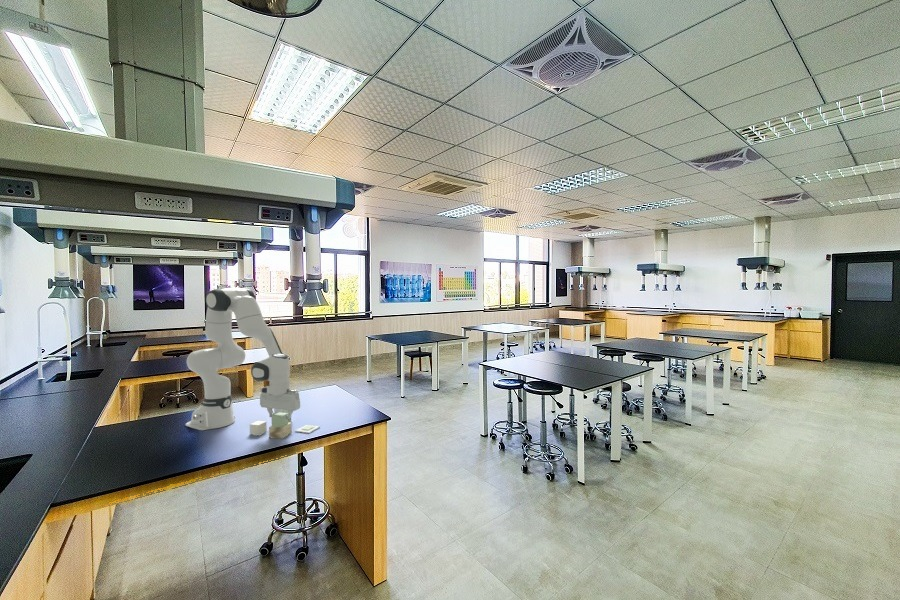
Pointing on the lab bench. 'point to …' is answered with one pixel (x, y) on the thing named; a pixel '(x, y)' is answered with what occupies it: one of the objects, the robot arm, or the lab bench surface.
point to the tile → (307, 429)
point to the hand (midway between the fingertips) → (280, 417)
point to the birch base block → (280, 431)
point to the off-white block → (258, 427)
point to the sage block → (279, 420)
